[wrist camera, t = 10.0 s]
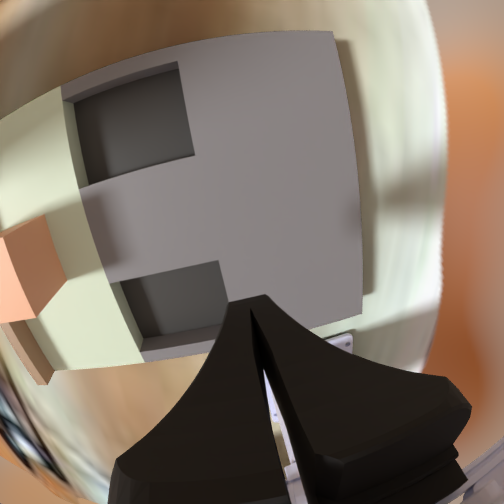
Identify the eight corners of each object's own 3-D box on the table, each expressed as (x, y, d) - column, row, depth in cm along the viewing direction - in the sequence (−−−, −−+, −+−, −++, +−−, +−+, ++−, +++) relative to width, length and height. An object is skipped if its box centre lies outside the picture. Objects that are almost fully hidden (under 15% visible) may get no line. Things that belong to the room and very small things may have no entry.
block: (67, 280, 16) (36, 317, 11) (22, 291, 15) (-10, 324, 11) (44, 214, 14) (2, 237, 10) (0, 231, 14) (-40, 256, 9)
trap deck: (350, 300, 21) (373, 327, 18) (53, 356, 20) (37, 384, 16) (320, 40, 14) (345, 21, 11) (-23, 146, 13) (-54, 151, 9)
